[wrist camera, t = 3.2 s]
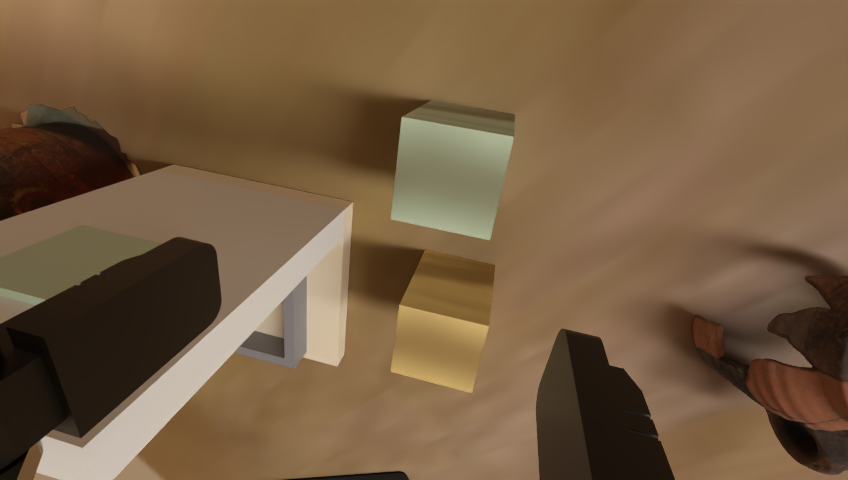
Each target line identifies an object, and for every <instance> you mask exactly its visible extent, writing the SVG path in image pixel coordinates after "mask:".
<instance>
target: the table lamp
mask: <svg viewBox="0 0 848 480" xmlns="http://www.w3.org/2000/svg"><path fill="white" fill-rule="evenodd" d="M291 480H409V479H408V477H407V475H406V474H405V473H403V472H387V473H374V474H360V475H346V476H332V477H319V478H305V479H291Z"/></svg>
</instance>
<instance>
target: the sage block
mask: <svg viewBox="0 0 848 480" xmlns="http://www.w3.org/2000/svg"><path fill="white" fill-rule="evenodd" d="M514 124H515V115H514V114H508V113H502V112H497V111H491V110H485V109H479V108H473V107H467V106H462V105H456V104H450V103H444V102H438V101H432V100H431V101H429V102H428V103H426V104H424V105H422V106H420V107H418V108H417V109H415V110H413V111H411V112H409V113H408V114H406V115H404V116H402V118H401V127H400V137H399V146H398V156H397V165H396V174H395V184H394V193H393V202H392V212H391V219H392V220H397V221H402V222H406V223H411V224H416V225H420V226H425V227H430V228H435V229H439V230H444V231H449V232H453V233H458V234H463V235H467V236H472V237H477V238H481V239H486V240H490V237H491V233H492V229H493V225H494V220H495V216H496V212H497V208H498V203H499V199H500V195H501V191H502V186H503V182H504V178H505V174H506V169H507V165H508V161H509V156H510V152H511V148H512V144H513V139H514Z"/></svg>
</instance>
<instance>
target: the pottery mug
mask: <svg viewBox="0 0 848 480" xmlns="http://www.w3.org/2000/svg"><path fill="white" fill-rule="evenodd" d="M805 280H806V281H807V282H808V283H810V284H811V285H813V286H814V287H815V288H816V289H817V290H818V291H819V292H820V294H821V295H822V297H823V298H824V299H825V301H826V302H827V303H828V304H829V306H830V307H831V308H832V309H825V308H819V307H816V308H808V309H804V310H800V311H797V312H794V313H783V314H779V315H777V316H776V317H775V318H774V319H773V320H772V321H771V322H770V323H769V325H768V327H767V330H768V331H769V332H771V333H774V334H776V335H778V336H780V337H783V338H786V339H787V340H788V342H789V343H790V344H791V345H792V346H793V347H794V348H795V349H796V350H798V351H799V352H800V353H801V354H802V355H803V356H804V357H805V358H806V360H807V361H808V362H809V363H810V364H811V365H812V368H807V367H797V366H792V365H788V364H784V363H781V362H779V361H776V360H773V359H756V360H753V361H752V362H751V364H750V365H749V367H747V366H745V365H741V364H738V363H734V362H732V361H731V360H730V359H728V358H727V357H726V356H725V351H724V347H723V327H722V326H721V325H720V324H716V323H713V322H708V321H707V320H705V319H704V318H702V317H700V316H696V317H695V318H694V322H693V337H694V341H695V345H696V347H697V351H698V353H699V355H700V356H701V358H702V359H703V360H704V362H705V363H707V364H708V365H709V366H710V367H711V368H713V369H714V370H716V371H717V372H718V373H720V374H721V375H722V376H723V377H725V378H726V379H727V380H729V381H730V382H732V384H733V385H734V386H736V387H737V388H738V389H740V390H741V391H742V392H744V393H745V394H747V396H749V397H750V398H751V399H752V400H754V401H755V402H757V403H758V404H760V405H761V406H763V407H764V408H765V409H766V412H767V414H768V417H769V421H770V423H771V426H772V428H773V430H774V433H775V435H776V437H777V438H778V440H779V441H780V443H781V444H782V446H783V447H784V449H785V450H786V451H787V452H788V453H789V454H790V455H791V456H792V457H793V458H794V459H795V460H796V461H797V462H799V463H800V464H802V465H804V466H806V467H808V468H810V469H812V470H814V471H817V472H820V473H823V474H828V475H835V474H840V473H842V472H843V471H845V470H848V276H841V277H835V276H834V277H828V276H806V277H805Z"/></svg>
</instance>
